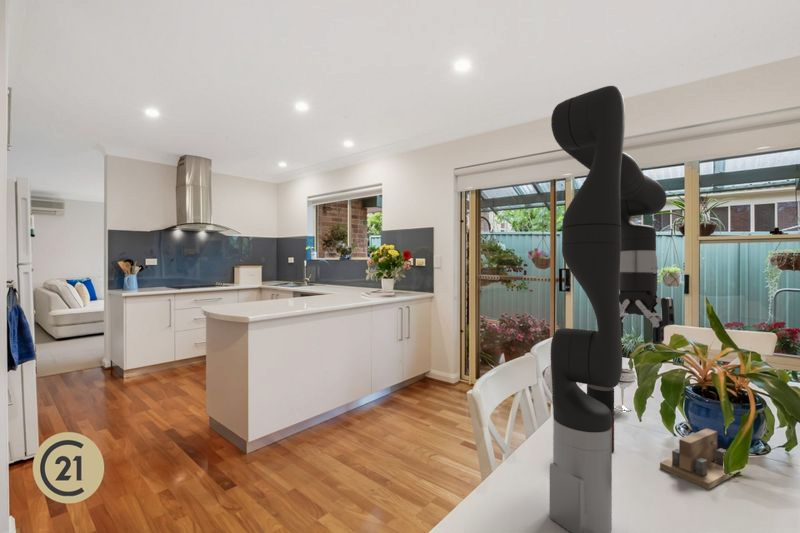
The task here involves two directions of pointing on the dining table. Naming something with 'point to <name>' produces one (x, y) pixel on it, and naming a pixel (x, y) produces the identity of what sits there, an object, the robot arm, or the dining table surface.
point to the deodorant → (604, 401)
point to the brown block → (697, 448)
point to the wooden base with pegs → (699, 469)
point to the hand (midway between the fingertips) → (637, 340)
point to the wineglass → (625, 383)
